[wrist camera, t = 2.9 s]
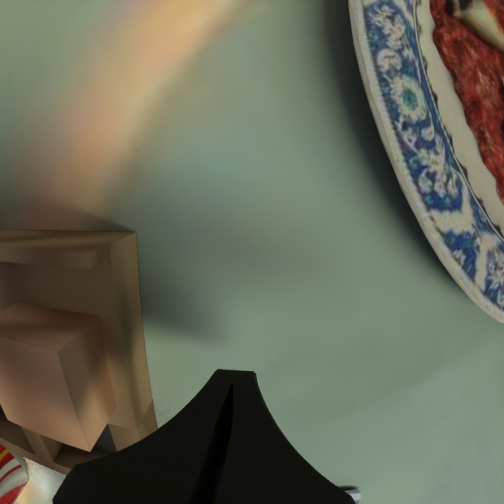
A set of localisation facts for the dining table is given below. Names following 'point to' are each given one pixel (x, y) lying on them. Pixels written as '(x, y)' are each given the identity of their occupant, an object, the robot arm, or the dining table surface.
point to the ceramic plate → (443, 125)
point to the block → (55, 373)
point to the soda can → (11, 475)
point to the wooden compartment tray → (91, 302)
